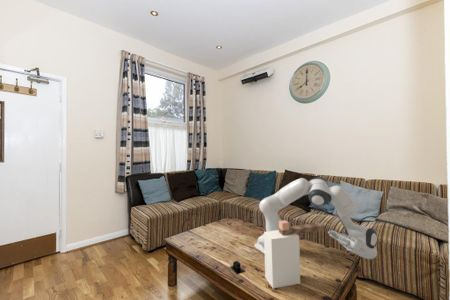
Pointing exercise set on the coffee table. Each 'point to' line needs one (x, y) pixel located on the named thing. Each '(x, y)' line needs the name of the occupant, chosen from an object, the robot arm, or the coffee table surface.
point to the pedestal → (281, 259)
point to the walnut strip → (303, 229)
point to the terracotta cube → (284, 225)
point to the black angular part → (237, 267)
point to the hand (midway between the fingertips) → (334, 235)
